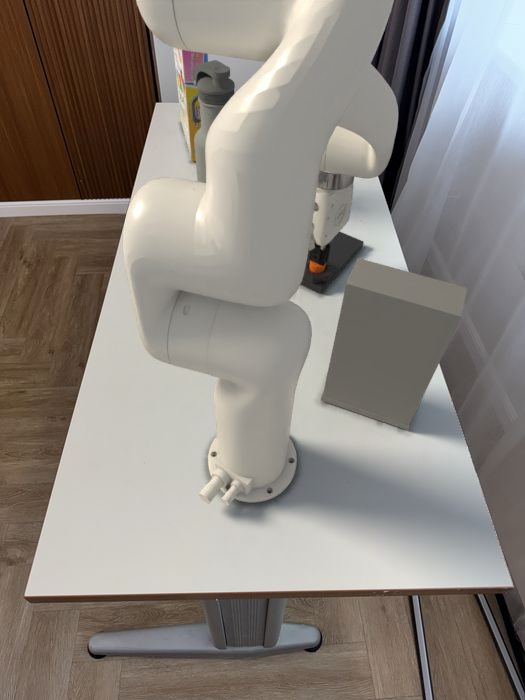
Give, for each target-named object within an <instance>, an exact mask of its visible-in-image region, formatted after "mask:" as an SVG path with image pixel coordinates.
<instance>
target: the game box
mask: <svg viewBox="0 0 525 700" xmlns="http://www.w3.org/2000/svg"><path fill="white" fill-rule="evenodd" d="M172 48H173V47H172ZM172 50H173V57H174V65H175V74H176V76H175V77H176V86H177V97H178V104H179V114H180V123H181V126H182V130H183V134H184V137H185V142H186V144H187V149H188V153H189V156H190V159H191V162H196V157H195V144H194V138H195V134H196V133H197V131H198V130H199V129H200V128H201V122H200V123H195V122H194V121H193V120H192V118H191V106H190V101H191V99H192V98H193V97H194V96H197V95H198V91H197V90H198V89H197V86H195V85H194V83H193V72H194V69H195V67H196V65H198V64H201V63H205V62H209V54H207V53H200V52H192V51H186V50H181V49H177V48H173V49H172ZM195 117H196V118H197V119H199V118H201V115H200V103H199V101H198V100H197V101H196V103H195Z"/></svg>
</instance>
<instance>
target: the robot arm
mask: <svg viewBox="0 0 525 700" xmlns="http://www.w3.org/2000/svg"><path fill="white" fill-rule="evenodd" d="M135 1H136V6H137V9H138V10H139V14H140V16H141V18H142V19H143V21H144V23H145V25H146V26H147V28H148V29H149V31H150V32H151V33H152V34H153V35H154V36H155V37H156V38H157V39H158V40H159V41H160V42H162V43H163V44H165V45H167V46H168V47H171V48H177V49H181V50H186V51H192V52H200V53H207V54H208V55H213V56H221V57H228V58H232V59H233V58H234V59H239V60H247V61H254V62H255V61H256V62H263V65H262V66H261V67H260V68H259V69H258V70H257V71H256V72H255V73H254V74H253V75H252V76H251V77H250V78H249V79H248V80H247V81H246V82H245V83H244V84H243V85H241V86H240V88H239V89H237V91H235V92H234V95H233V96H232V97H231V98H230V100H229V101H228V102H227V103H226V104H225V106H224V107H223V108H222V110H221V111H220V113H219V114H218V115H217V117H216V118H215V120H214V121H213V123H212V125H211V126H210V128H209V131H208V134H207V138H206V144H205V159H206V183H203V182H198V181H197V180H193V179H186V178H181V177H169V176H167V177H158V178H154V179H151V180H150V181H147V182H146V183H144V184H143V185H142V186H141V187H140V188H139V189H138V190H137V191H136V192H135V194H134V195H133V196H132V198H131V201H130V203H129V205H128V208H127V211H126V216H125V218H124V219H125V220H124V223H123V230H122V257H123V261H124V262H123V263H124V268H125V274H126V280H127V284H128V288H129V293H130V298H131V301H132V302H131V303H132V308H133V311H134V317H135V322H136V326H137V330H138V334H139V339H140V341H141V345H142V346H143V348H144V350H145V351H146V352H147V354H148V355H150V357H152V358H153V359H155V360H157V361H159V362H161V363H165V364H167V365H171V366H174V367H178V368H181V369H185V370H189V371H193V372H197V373H201V374H205V375H209V376H211V377H213V378H217V379H216V382H215V385H214V387H213V407H214V418H215V419H214V420H215V431H216V436H215V437H214V439H213V441H212V442H211V444H210V446H209V450H208V455H207V463H208V464H207V465H208V466H207V467H208V470H209V475H210V476H211V479H210V480H209V482H208V483H206V484H205V486H204V487H203V488H202V489H201V490H200V491H199V493H198V497H199V498H200V499H201V501H203V502H204V503H206V504H209V505H210V504H211V503H212V501H214V499H215V497H216V496H217V495H218V494H219V491H221V492H222V493H223V496H221V498H220V501H221V502H222V503H223V504H224V505H226V506H228V507H229V506H231V504H232V503H233V502H234V500H235V501H236V500H237V501H239V502H243V503H260V502H266V501H269V500H271V499H273V498H276V497H277V496H279V495H280V494H282V493H283V492H284V491H285V490H286V489H287V488H288V487H289V485H290V484H291V483H292V481H293V478H294V476H295V475H296V469H297V463H298V457H297V451H296V448H295V445H294V443H293V441H292V438H291V437H290V434H291V427H292V420H293V411H294V404H295V403H294V402H295V396H296V390H297V386H298V382H299V379H300V376H301V373H302V371H303V368H304V366H305V364H306V361H307V359H308V356H309V352H310V348H311V344H312V337H313V327H312V323H311V319H310V317H309V315H308V314H307V312H306V311H305V310H304V309H303V308H302V307H301V306H299V304H297V303H295V302H293V301H291V299H292V298H293V297H294V296H295V294H297V292H298V291H299V288H300V286H301V285H300V284H301V282H302V279H303V275H304V271H305V266H306V261H307V256H308V250H309V251H310V254H309V260H311V261H313V262H315V263H317V264H320V265H322V266H324V265H325V263H326V262H327V261H328V258H329V252H330V246H331V245H330V243H331V242H332V239H333V238H334V237H335V236H336V235H337V234H338V233H339V231H340V232H341V230H342V229H344V227H345V226H346V225H347V224H348V222H349V220H350V216H351V212H352V211H351V210H352V203H353V194H354V185H355V184H354V183H355V178H359V179H374V178H377V177H379V176H380V175H381V174H382V173H383V172H384V171H385V170H386V168H387V166H388V165H389V162H390V159H391V158H392V153H393V150H394V144H395V139H396V136H397V135H396V134H397V131H398V123H399V105H398V102H397V98H396V95H395V93H394V91H393V89H392V88H391V87H390V85H389V83H388V82H387V80H385V78H384V77H383V75H382V74H381V73H380V72H379V71H378V70H377V68H376V67H375V66H374V65H373V64H372V61H373V59H374V57H375V55H376V52H377V50H378V48H379V45H380V42H381V40H382V38H383V35H384V32H385V31H386V27H387V24H388V20H389V19H390V15H391V13H392V9H393V5H394V1H395V0H135ZM328 243H329V244H328Z"/></svg>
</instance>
